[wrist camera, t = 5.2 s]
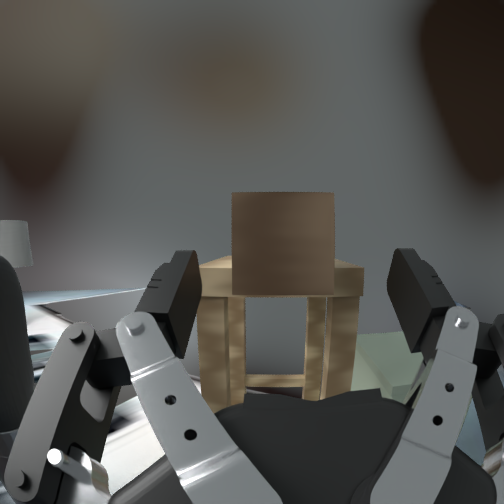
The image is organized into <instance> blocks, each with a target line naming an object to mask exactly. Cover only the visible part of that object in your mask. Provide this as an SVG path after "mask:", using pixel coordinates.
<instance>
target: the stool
mask: <svg viewBox="0 0 504 504" xmlns="http://www.w3.org/2000/svg"><path fill="white" fill-rule="evenodd" d="M199 269H200V275H201V280H202V296H201V299H200V303H199V306H198V310H197V332H198V351H199V367H200V381H201V394H202V397H203V398H204V400H205V402H206V403H207V405H208V406H209V408H210V409H211V410H212V412H213V413H216V412H218V411H219V410H221V409H224V408H226V407H228V406H232V405H235V404H239V403H243V401H244V394H246V386H252V387H254V386H255V387H303V393H302V399H305V400H310V401H318V400H319V395H320V384H321V372H322V361H323V347H324V331H325V311H326V297H327V318H326V336H325V351H324V364H323V376H322V388H321V397H320V400H322V399H325V398H328V397H332V396H335V395H338V394H342V393H345V392H348V391H351V384H352V376H353V368H354V359H355V350H356V340H357V327H358V314H359V297H360V296H363V286H364V285H363V284H364V268H363V267H360V266H357V265H353V264H350V263H347V262H344V261H340V260H337V259H335V269H334V295H232V256H226V257H223V258H220V259H217V260H214V261H211V262H207V263H205V264H202V265H199ZM245 297H307V321H306V344H305V345H306V346H305V363H304V375H250V374H246V335H245V334H246V329H245V328H246V327H245Z"/></svg>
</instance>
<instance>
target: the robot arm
mask: <svg viewBox="0 0 504 504" xmlns="http://www.w3.org/2000/svg"><path fill="white" fill-rule="evenodd" d="M387 292H388V295H389V297H390V300H391V302H392V305H393V307H394V310H395V312H396V315H397V317H398V320H399V322H400V325H401V328H402V330H403V333H404V336H405V338H406V341H407V344H408V347H409V350H410V352H411V353H418V352H421V353H422V355H423V360H422V361H421V364H420V366H419V368H418V371H417V373H416V375H415V378H414V380H413V382H412V384H411V386H410V389H409V391H408V393H407V395H406V397H405V399H404V401H403V402H402V403H401V402H399V401H396V400H393V399H389V398H384V397H382V395H381V390H380V388H375V389H366V390H356V391H348V392H345V393H342V394H338V395H335V396H332V397H328V398H325V399H322V400H318V401H310V400H305V399H300V398H294V397H290V396H285V395H280V394H244V401H243V403H239V404H235V405H232V406H228V407H226V408H224V409H221V410H219V411H218V412H216V413H213V412H212V410H211V409H210V408H209V406H208V405H207V403H206V402H205V400H204V398H203V397H202V395H201V394H200V392H199V391H198V389H197V388H196V386H195V385H194V383H193V381H192V380H191V378H190V377H189V375H188V373H187V372H186V370H185V369H184V367H183V365H182V363H181V362H180V360H179V359H184V356H185V352H186V348H187V345H188V341H189V338H190V334H191V331H192V327H193V323H194V320H195V317H196V313H197V310H198V306H199V303H200V299H201V296H202V280H201V275H200V269H199V264H198V259H197V254H196V251H194V250H183V251H176V252H175V254H174V256H173V258H172V260H171V262H170V263H164V264H162V265H161V266H160V267H159V268H158V269H157V270H156V271H155V272H154V274H153V276H152V278H151V281H150V282H149V284H148V286H147V288H146V290H145V292H144V294H143V296H142V298H141V300H140V302H139V304H138V306H137V308H136V310H135V312H133V313H131V314H128V315H126V316H125V317H123V318H122V319H121V320H120V321H119V322H118V324H117V326H116V328H113V329H108V330H102V331H95V330H94V328H93V326H92V325H91V324H90V323H88V322H77V323H74V324H72V325H70V326H69V327H68V328H66V329H65V331H64V332H63V333H62V335H61V337H60V339H59V341H58V343H57V345H56V346H55V348H54V350H53V352H52V354H51V356H50V358H49V360H48V362H47V364H46V366H45V369H44V371H43V373H42V375H41V377H40V379H39V381H38V383H37V386H36V388H35V390H34V372H33V366H32V360H31V355H30V348H29V342H28V334H27V325H26V316H25V307H24V300H23V295H22V290H21V286H20V283H19V279H18V277H17V275H16V272H15V270H14V269H13V267H12V265H11V264H10V263H9V262H8V261H7V260H6V259H5V258H4V257H3V256H1V255H0V481H1V482H2V484H3V485H4V487H5V489H6V490H7V492H8V493H9V495H10V496H11V497H12V499H13V500H14V502H15V503H16V504H504V388H503V385H502V382H501V380H500V377H499V374H498V372H497V369H498V368H499V366H500V365H501V364H502V365H503V368H504V314H500V315H498V316H497V317H496V319H495V320H494V322H493V324H488V323H482V322H478V319H477V317H476V316H475V315H474V314H473V313H472V312H471V311H470V310H468V309H466V308H464V307H460V306H456V304H455V302H454V301H453V299H452V298H451V296H450V294H449V292H448V291H447V289H446V288H445V286H444V284H442V281H441V279H440V278H439V277H438V275H437V273H436V272H435V270H434V269H433V267H432V266H430V265H429V264H428V263H427V262H425V261H424V260H421V259H420V257H419V256H418V254H417V253H416V251H415V250H414V249H413V248H409V249H408V248H397V249H396V250H395V251H394V254H393V259H392V263H391V267H390V271H389V275H388V278H387ZM131 384H133V386H134V389H135V391H136V394H137V396H138V398H139V401H140V403H141V405H142V407H143V409H144V412H145V414H146V416H147V418H148V420H149V422H150V424H151V426H152V429H153V431H154V433H155V435H156V437H157V439H158V440H159V442H160V444H161V446H162V448H163V450H164V452H165V455H164V456H162V457H161V458H160V459H159V460H158V461H156V462H155V463H154V464H152V465H151V466H150V467H149V468H147V469H146V470H145V471H144V472H142V473H141V474H140V475H138V476H137V477H136V478H134V479H133V480H132V481H130V482H129V483H128V484H126V485H125V486H124V487H122V488H121V489H119V490H118V491H117V492H115V493H114V494H113V495H112V496H111V494H110V492H109V489H108V486H109V484H108V474H107V471H106V469H105V468H104V466H103V465H102V464H100V462H101V458H102V454H103V450H104V446H105V442H106V438H107V434H108V431H109V427H110V423H111V420H112V416H113V413H114V409H115V406H116V402H117V399H118V395H119V392H120V389H121V386H123V385H131ZM471 394H472V398H473V401H474V404H475V408H476V411H477V415H478V419H479V423H480V427H481V431H482V435H483V439H484V444H485V449H486V454H485V457H484V463H483V464H482V465H481V466H480V465H478V464H477V463H476V462H475V461H474V460H472V459H471V458H470V457H469V456H467V455H466V454H465V453H464V452H463V451H461V450H460V449H459V448H458V447H457V446H455V443H456V440H457V438H458V435H459V432H460V429H461V426H462V423H463V420H464V417H465V414H466V410H467V407H468V403H469V400H470V396H471Z"/></svg>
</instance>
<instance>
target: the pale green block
mask: <svg viewBox="0 0 504 504" xmlns="http://www.w3.org/2000/svg"><path fill="white" fill-rule="evenodd" d="M422 360H423V355H422V353H421V352H418V353H411V352H410V350H409V347H408V344H407V341H406V338H405V336H404V333H403V331H402V332H391V333H378V334H362V335H357V340H356V350H355V359H354V368H353V376H352V384H351V391H356V390H366V389H375V388H380V390H381V395H382V397H384V398H389V399H393V400H396V401H399V402H401V403H402V402H403V401H404V399H405V397H406V395H407V393H408V391H409V389H410V386H411V384H412V382H413V380H414V378H415V375H416V373H417V371H418V368H419V366H420V364H421V361H422ZM471 400H472V394H471V396H470V400H469V403H468V407H467V410H466V414H465V417H464V420H463V423H464V421H465V418H466V415H467V412H468V409H469V406H470V403H471ZM463 423H462V426H463ZM462 426H461V429H462ZM461 429H460V431H461ZM459 434H460V432H459ZM458 436H459V435H458ZM457 439H458V438H457ZM456 441H457V440H456ZM455 444H456V443H455Z"/></svg>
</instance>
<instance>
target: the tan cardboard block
mask: <svg viewBox="0 0 504 504" xmlns="http://www.w3.org/2000/svg"><path fill="white" fill-rule="evenodd" d="M334 269H335V213H334V193H323V192H240V193H239V192H238V193H232V295H334Z"/></svg>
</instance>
